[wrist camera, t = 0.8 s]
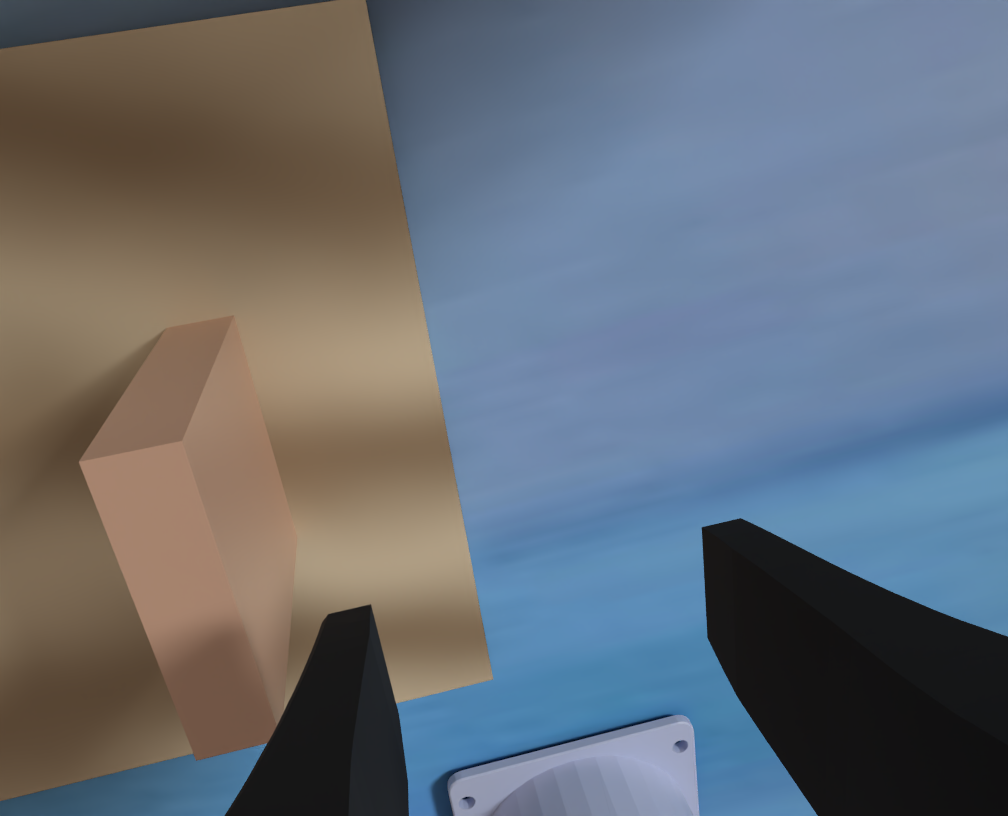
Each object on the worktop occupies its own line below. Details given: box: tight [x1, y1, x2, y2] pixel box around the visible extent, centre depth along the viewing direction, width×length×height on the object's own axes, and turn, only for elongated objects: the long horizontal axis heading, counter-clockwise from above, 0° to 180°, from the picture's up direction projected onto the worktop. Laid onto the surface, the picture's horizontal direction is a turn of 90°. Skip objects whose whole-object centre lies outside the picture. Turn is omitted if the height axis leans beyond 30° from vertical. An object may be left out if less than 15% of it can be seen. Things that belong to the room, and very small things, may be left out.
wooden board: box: [0, 0, 493, 801], centre depth 20 cm, size 18×15×1 cm
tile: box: [79, 315, 298, 761], centre depth 17 cm, size 6×2×7 cm, turn 8°
